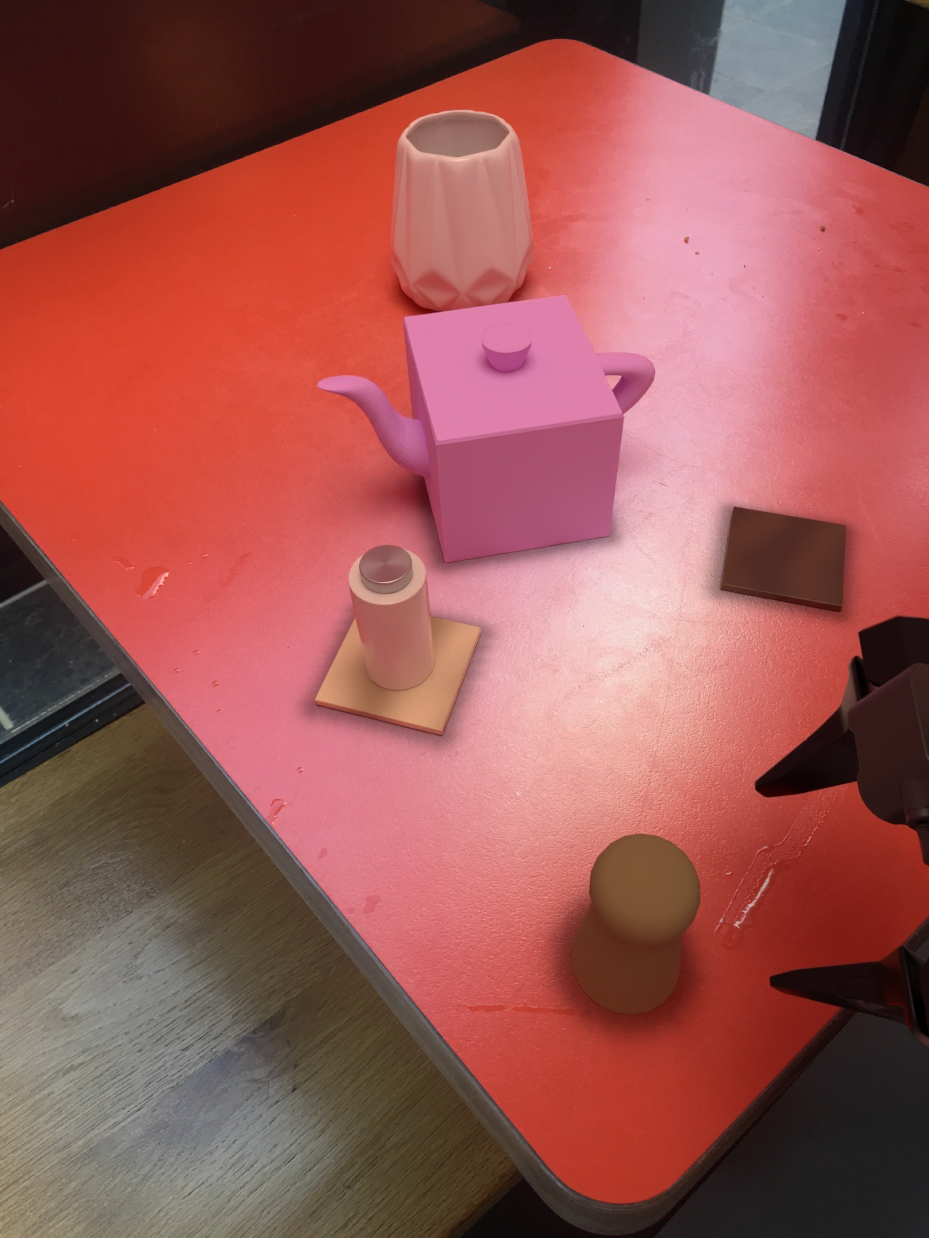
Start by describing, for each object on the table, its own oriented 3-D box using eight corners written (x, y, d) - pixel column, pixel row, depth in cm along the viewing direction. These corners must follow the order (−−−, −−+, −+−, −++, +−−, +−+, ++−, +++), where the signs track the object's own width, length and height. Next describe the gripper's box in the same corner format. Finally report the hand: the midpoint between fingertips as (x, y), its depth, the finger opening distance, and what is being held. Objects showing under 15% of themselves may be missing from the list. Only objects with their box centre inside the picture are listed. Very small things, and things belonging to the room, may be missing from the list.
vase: (497, 238, 100) (496, 88, 89) (556, 304, 92) (564, 147, 80) (375, 270, 97) (357, 118, 86) (425, 340, 89) (413, 183, 77)
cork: (650, 890, 54) (678, 798, 45) (700, 992, 50) (740, 912, 41) (553, 924, 52) (562, 836, 44) (596, 1030, 49) (615, 957, 40)
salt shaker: (448, 652, 64) (440, 553, 56) (409, 701, 62) (395, 604, 54) (391, 625, 66) (376, 525, 58) (351, 672, 63) (329, 573, 56)
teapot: (331, 449, 79) (303, 301, 68) (614, 406, 82) (631, 257, 71) (351, 578, 70) (322, 431, 59) (670, 526, 72) (699, 375, 61)
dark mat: (843, 530, 71) (846, 524, 71) (840, 611, 66) (842, 606, 66) (732, 511, 73) (733, 506, 72) (720, 589, 68) (721, 584, 67)
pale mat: (481, 632, 66) (481, 626, 66) (442, 735, 61) (441, 730, 60) (363, 606, 68) (362, 601, 68) (315, 704, 63) (314, 699, 62)
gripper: (997, 467, 34) (654, 630, 44) (1175, 983, 22) (653, 1050, 32) (1115, 620, 39) (786, 735, 49) (1310, 1102, 28) (827, 1128, 37)
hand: (766, 880), depth 42 cm, fingers open, 9 cm apart
